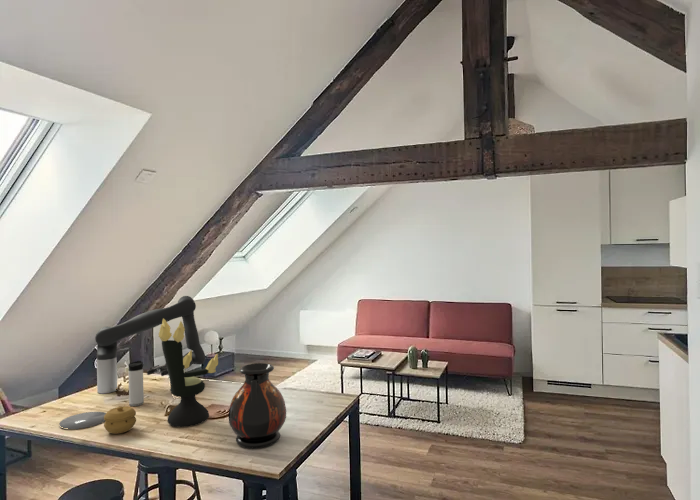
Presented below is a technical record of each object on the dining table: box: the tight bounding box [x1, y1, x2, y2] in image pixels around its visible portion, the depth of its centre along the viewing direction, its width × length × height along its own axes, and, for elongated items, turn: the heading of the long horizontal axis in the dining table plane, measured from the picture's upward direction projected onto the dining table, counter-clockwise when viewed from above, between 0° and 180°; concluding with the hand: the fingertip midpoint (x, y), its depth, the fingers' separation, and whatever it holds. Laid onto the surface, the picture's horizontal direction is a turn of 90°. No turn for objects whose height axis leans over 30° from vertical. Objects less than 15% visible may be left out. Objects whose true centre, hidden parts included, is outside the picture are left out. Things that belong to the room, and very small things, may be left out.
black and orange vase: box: [227, 362, 287, 450], centre depth 174 cm, size 22×22×28 cm
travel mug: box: [127, 360, 145, 407], centre depth 218 cm, size 6×7×20 cm
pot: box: [103, 405, 137, 435], centre depth 186 cm, size 12×12×10 cm
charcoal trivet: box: [59, 411, 107, 430], centre depth 197 cm, size 18×18×1 cm
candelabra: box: [158, 318, 219, 428], centre depth 193 cm, size 19×22×45 cm
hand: (154, 373), depth 230 cm, fingers open, 8 cm apart
